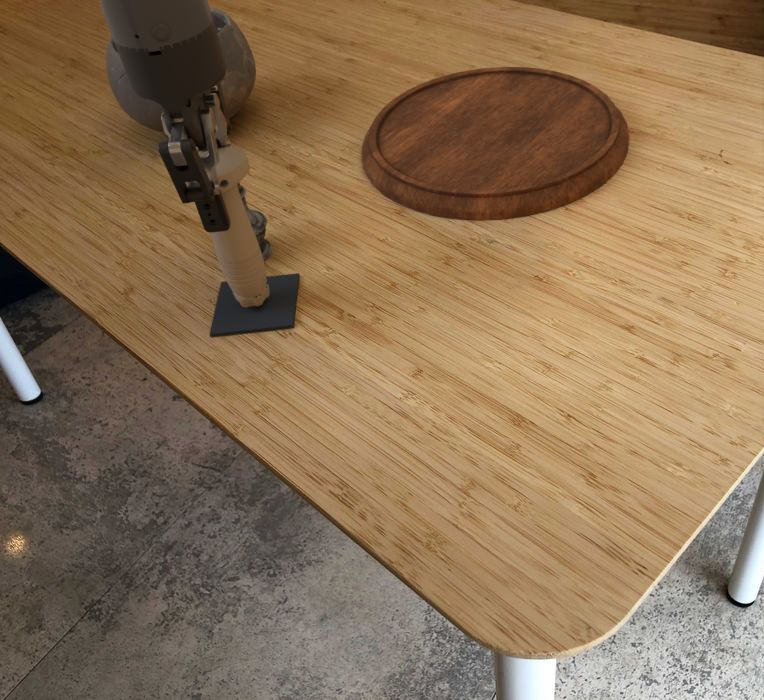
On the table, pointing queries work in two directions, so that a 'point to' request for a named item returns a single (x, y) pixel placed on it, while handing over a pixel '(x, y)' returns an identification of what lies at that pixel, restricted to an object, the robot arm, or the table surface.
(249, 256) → the handle
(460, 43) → the table surface
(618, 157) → the cutting board
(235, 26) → the bowl
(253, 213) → the grey stone chess piece
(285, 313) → the place mat
